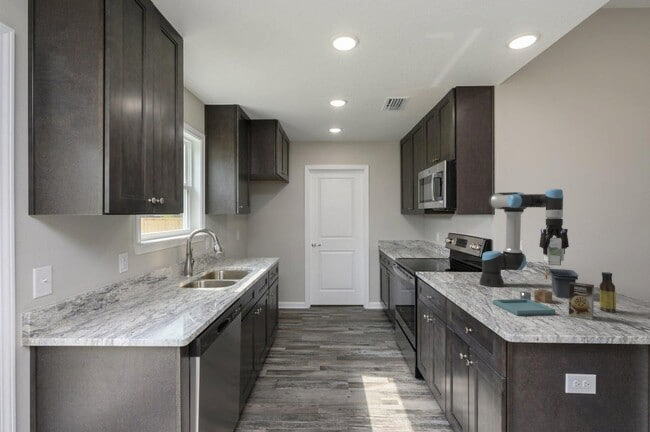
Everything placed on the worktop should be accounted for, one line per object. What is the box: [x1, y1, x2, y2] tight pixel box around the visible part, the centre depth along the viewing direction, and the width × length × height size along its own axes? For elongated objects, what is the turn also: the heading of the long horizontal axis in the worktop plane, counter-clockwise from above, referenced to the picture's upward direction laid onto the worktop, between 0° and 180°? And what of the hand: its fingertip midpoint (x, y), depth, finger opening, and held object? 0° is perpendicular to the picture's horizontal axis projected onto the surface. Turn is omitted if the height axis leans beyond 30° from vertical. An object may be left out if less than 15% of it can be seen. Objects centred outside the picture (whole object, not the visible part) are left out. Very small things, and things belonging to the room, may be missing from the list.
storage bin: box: [544, 268, 580, 299], centre depth 196 cm, size 21×16×14 cm
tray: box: [492, 298, 556, 317], centre depth 168 cm, size 20×20×2 cm
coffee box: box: [568, 281, 595, 321], centre depth 156 cm, size 9×6×16 cm
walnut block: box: [534, 289, 553, 304], centre depth 183 cm, size 6×6×6 cm
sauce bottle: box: [598, 271, 617, 313], centre depth 164 cm, size 6×6×20 cm
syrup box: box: [546, 237, 562, 266], centre depth 171 cm, size 6×6×14 cm
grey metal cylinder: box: [519, 291, 532, 300], centre depth 183 cm, size 5×5×5 cm
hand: (554, 260), depth 171 cm, fingers closed on syrup box, 8 cm apart
